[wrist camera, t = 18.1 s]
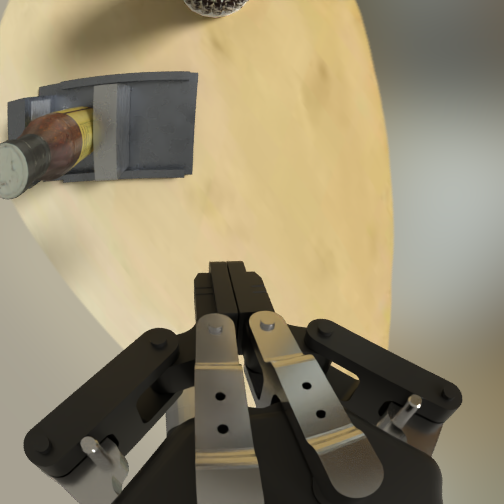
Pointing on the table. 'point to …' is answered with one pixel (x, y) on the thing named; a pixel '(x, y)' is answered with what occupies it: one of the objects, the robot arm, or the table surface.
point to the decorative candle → (215, 7)
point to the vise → (140, 123)
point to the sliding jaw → (111, 130)
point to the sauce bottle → (45, 149)
